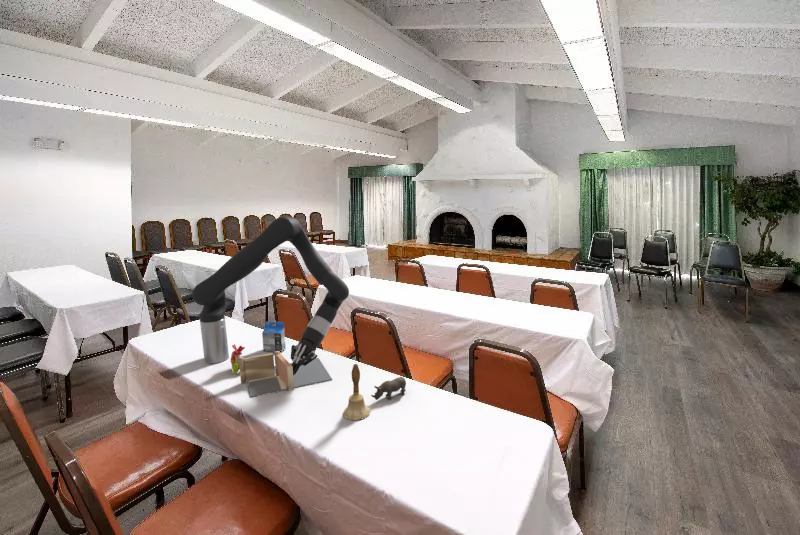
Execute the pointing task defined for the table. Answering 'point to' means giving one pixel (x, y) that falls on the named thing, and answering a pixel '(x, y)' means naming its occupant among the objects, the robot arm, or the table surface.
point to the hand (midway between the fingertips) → (291, 373)
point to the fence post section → (258, 367)
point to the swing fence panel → (285, 372)
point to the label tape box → (274, 337)
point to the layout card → (303, 377)
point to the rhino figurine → (390, 388)
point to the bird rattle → (236, 358)
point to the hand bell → (356, 399)
